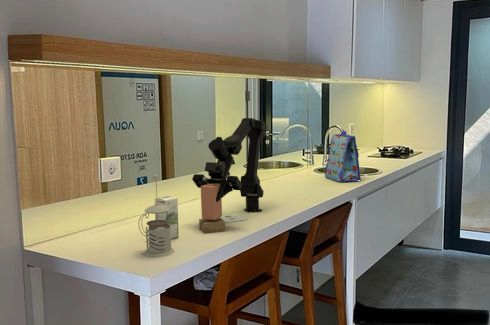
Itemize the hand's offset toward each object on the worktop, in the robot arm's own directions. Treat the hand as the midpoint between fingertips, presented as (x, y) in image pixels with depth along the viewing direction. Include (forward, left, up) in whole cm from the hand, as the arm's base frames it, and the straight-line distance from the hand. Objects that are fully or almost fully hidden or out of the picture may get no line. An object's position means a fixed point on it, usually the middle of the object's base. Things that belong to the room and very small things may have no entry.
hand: (209, 200), depth 184 cm
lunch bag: (-84, +101, -12) cm, 132 cm away
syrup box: (+4, -17, -11) cm, 21 cm away
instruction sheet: (-16, +12, -11) cm, 23 cm away
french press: (+19, -23, -11) cm, 32 cm away
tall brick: (-1, +1, -7) cm, 7 cm away
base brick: (-1, +1, -11) cm, 11 cm away
